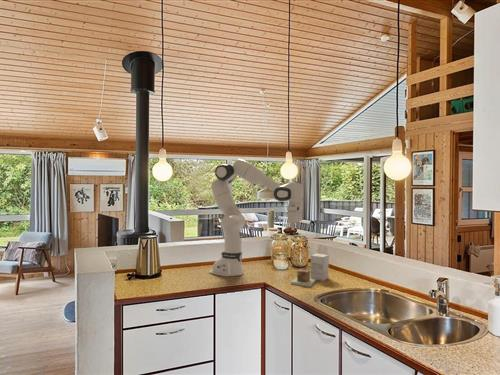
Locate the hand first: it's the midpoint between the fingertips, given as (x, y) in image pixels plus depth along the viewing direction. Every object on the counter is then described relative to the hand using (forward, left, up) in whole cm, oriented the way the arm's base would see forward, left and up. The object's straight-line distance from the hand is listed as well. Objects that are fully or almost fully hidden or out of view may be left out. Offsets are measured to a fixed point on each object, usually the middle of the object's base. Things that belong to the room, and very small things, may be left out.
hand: (295, 229), depth 247 cm
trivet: (+8, -7, -31) cm, 33 cm away
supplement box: (+14, +8, -31) cm, 35 cm away
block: (+8, -7, -30) cm, 31 cm away
